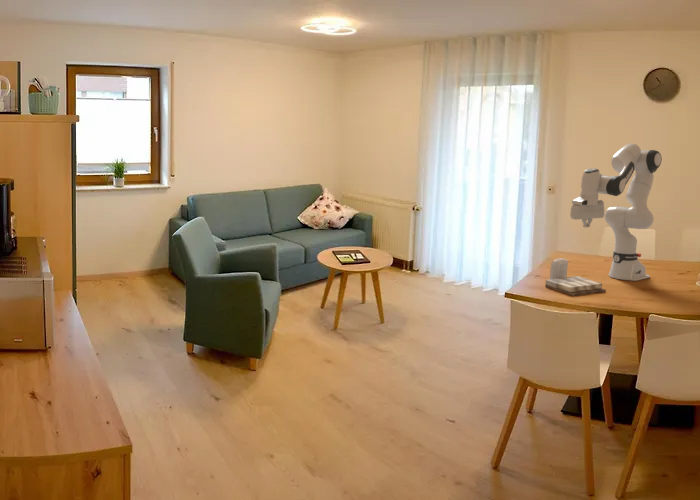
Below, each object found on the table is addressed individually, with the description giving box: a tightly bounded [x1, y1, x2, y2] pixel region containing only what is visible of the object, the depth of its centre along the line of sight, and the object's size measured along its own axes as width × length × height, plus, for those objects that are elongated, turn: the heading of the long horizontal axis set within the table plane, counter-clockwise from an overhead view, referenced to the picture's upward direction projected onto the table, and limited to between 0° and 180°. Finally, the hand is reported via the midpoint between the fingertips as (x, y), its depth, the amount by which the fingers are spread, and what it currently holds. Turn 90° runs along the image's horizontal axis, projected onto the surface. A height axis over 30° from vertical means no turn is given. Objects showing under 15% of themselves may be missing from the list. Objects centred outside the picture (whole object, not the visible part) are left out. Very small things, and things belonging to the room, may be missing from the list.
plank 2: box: [574, 279, 603, 290], centre depth 356 cm, size 11×9×2 cm
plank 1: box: [557, 282, 586, 292], centre depth 351 cm, size 11×9×2 cm
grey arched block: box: [549, 257, 569, 279], centre depth 372 cm, size 10×4×12 cm, turn 123°
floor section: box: [544, 275, 607, 297], centre depth 357 cm, size 22×20×4 cm
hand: (586, 227), depth 359 cm, fingers closed
